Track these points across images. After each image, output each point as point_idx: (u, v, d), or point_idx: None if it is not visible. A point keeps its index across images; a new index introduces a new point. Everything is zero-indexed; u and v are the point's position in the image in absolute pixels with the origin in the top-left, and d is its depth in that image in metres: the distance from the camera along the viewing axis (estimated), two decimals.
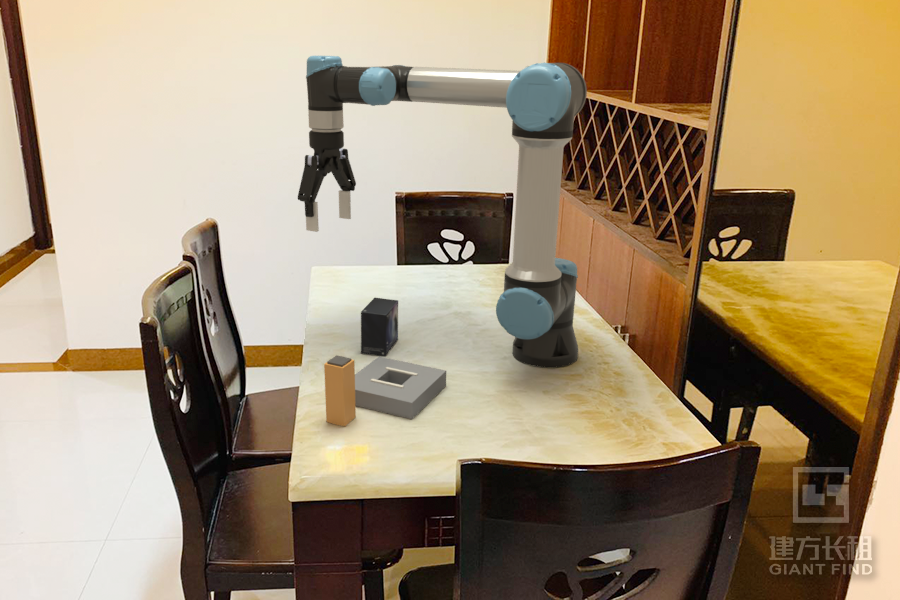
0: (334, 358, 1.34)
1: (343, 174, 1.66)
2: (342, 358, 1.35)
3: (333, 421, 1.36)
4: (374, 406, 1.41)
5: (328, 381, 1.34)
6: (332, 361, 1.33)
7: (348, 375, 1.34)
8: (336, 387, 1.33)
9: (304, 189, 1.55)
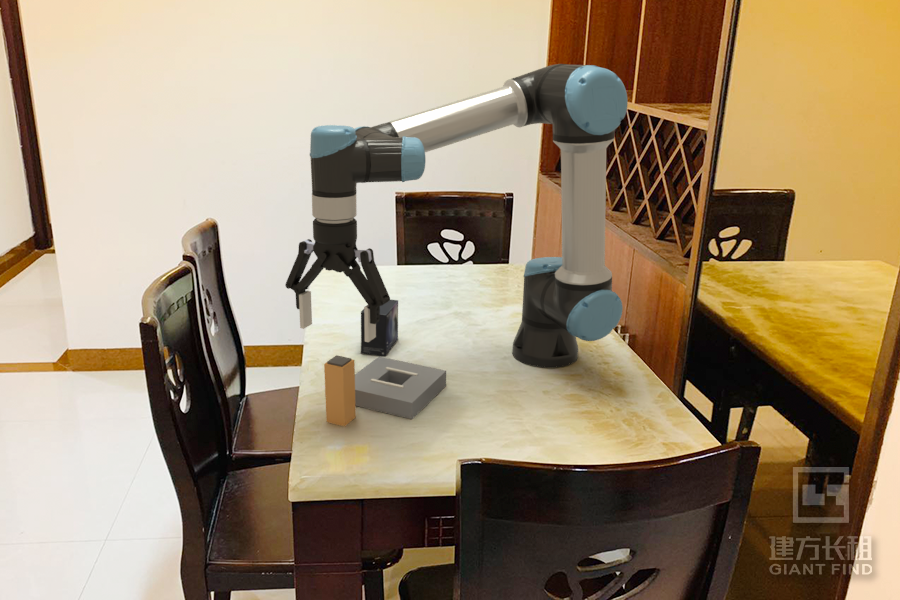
0: (334, 358, 1.34)
1: (355, 281, 1.26)
2: (342, 358, 1.35)
3: (333, 421, 1.36)
4: (374, 406, 1.41)
5: (328, 381, 1.34)
6: (332, 361, 1.33)
7: (348, 375, 1.34)
8: (336, 387, 1.33)
9: None
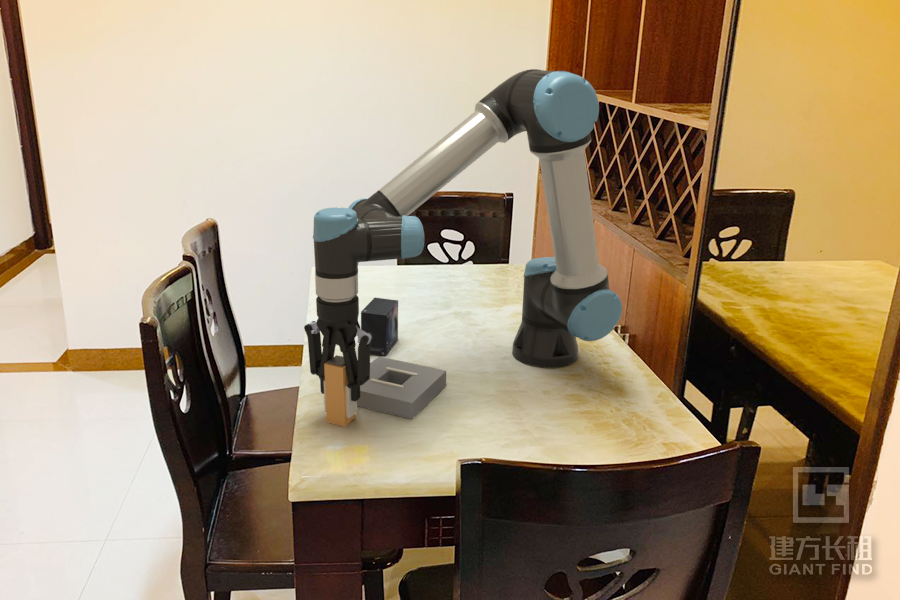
0: (334, 358, 1.34)
1: (346, 359, 1.32)
2: (342, 358, 1.35)
3: (333, 421, 1.36)
4: (374, 406, 1.41)
5: (328, 381, 1.34)
6: (332, 361, 1.33)
7: None
8: (336, 387, 1.33)
9: None
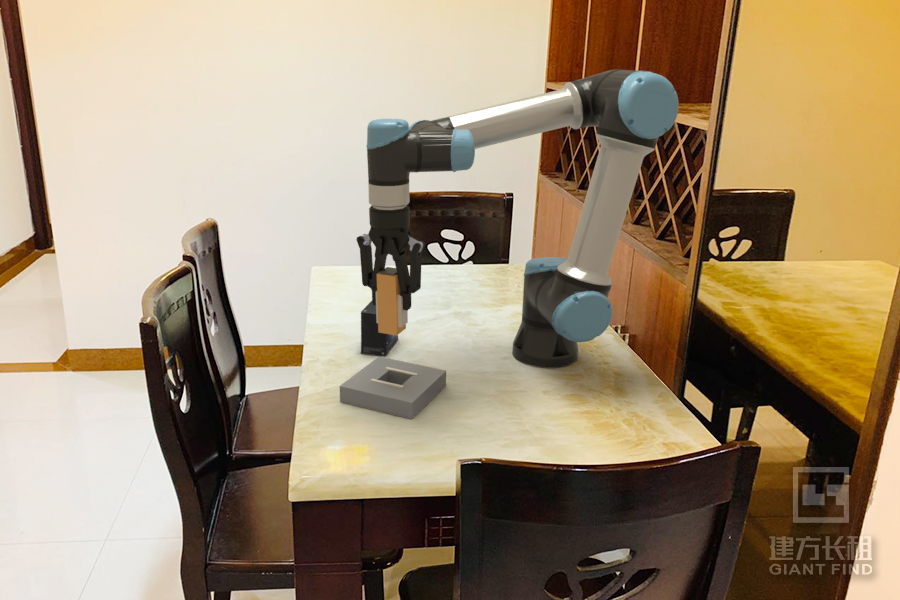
0: (385, 269, 1.39)
1: (399, 268, 1.36)
2: (393, 268, 1.39)
3: (385, 331, 1.41)
4: (374, 406, 1.41)
5: (380, 290, 1.39)
6: (384, 271, 1.38)
7: None
8: (388, 296, 1.38)
9: None
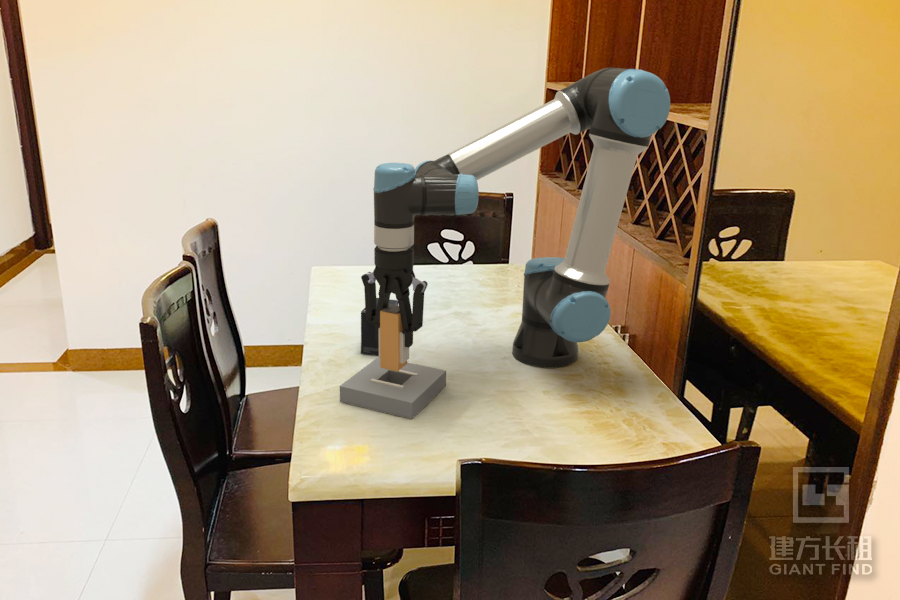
0: (389, 306, 1.43)
1: (401, 307, 1.40)
2: (396, 306, 1.43)
3: (387, 366, 1.45)
4: (374, 406, 1.41)
5: (383, 327, 1.42)
6: (387, 309, 1.42)
7: None
8: (391, 334, 1.42)
9: None
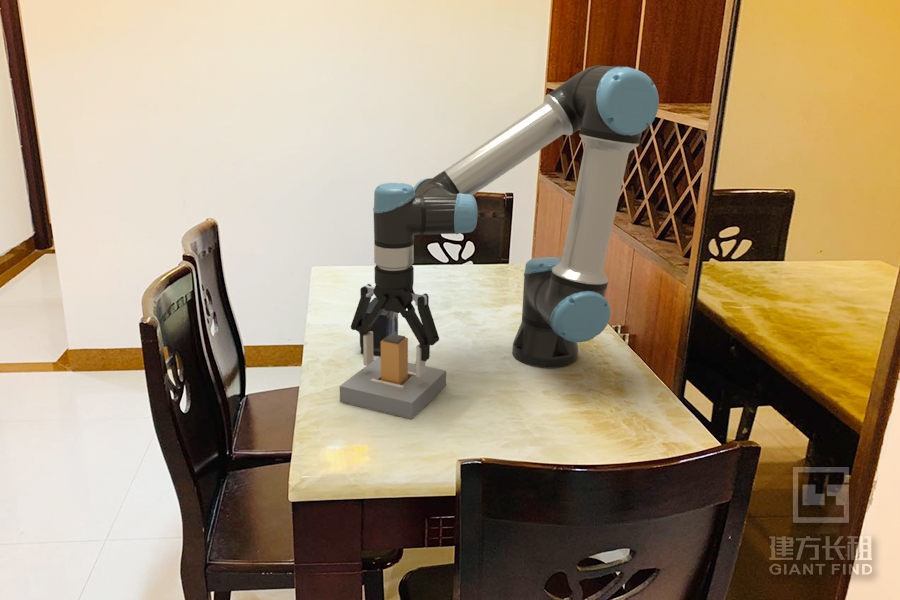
0: (389, 336, 1.45)
1: (410, 322, 1.40)
2: (396, 336, 1.45)
3: None
4: (374, 406, 1.41)
5: (383, 357, 1.44)
6: (388, 338, 1.44)
7: (402, 351, 1.44)
8: (392, 363, 1.44)
9: None
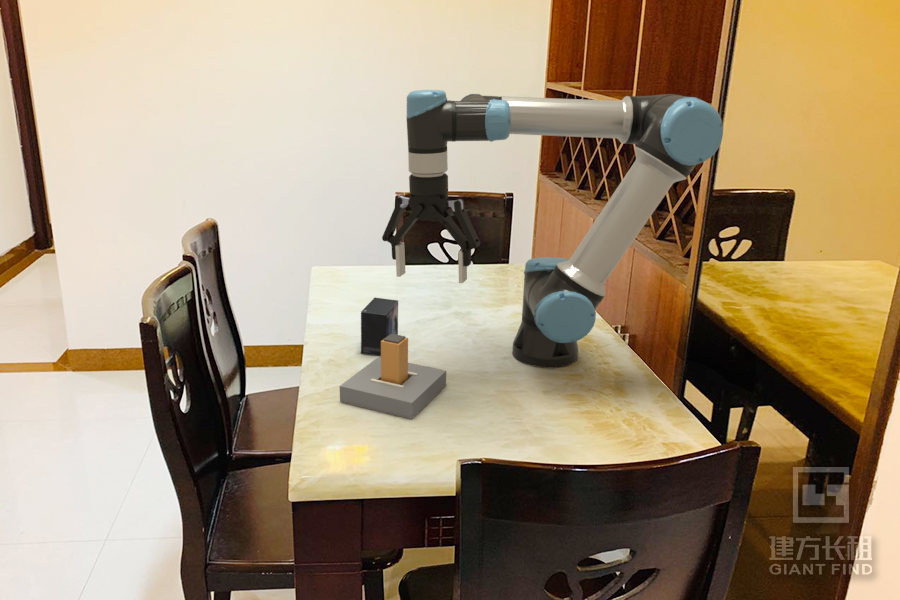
0: (389, 336, 1.45)
1: (449, 229, 1.41)
2: (396, 336, 1.45)
3: None
4: (374, 406, 1.41)
5: (384, 357, 1.44)
6: (388, 339, 1.44)
7: (402, 352, 1.44)
8: (392, 363, 1.44)
9: None
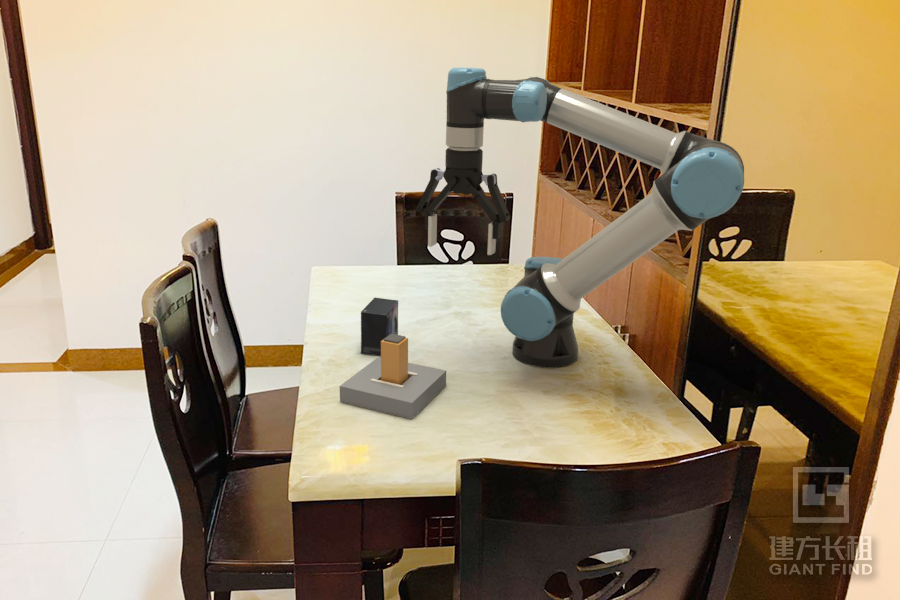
0: (389, 336, 1.45)
1: (481, 202, 1.47)
2: (396, 336, 1.45)
3: None
4: (374, 406, 1.41)
5: (384, 357, 1.44)
6: (388, 339, 1.44)
7: (402, 352, 1.44)
8: (392, 363, 1.44)
9: None
